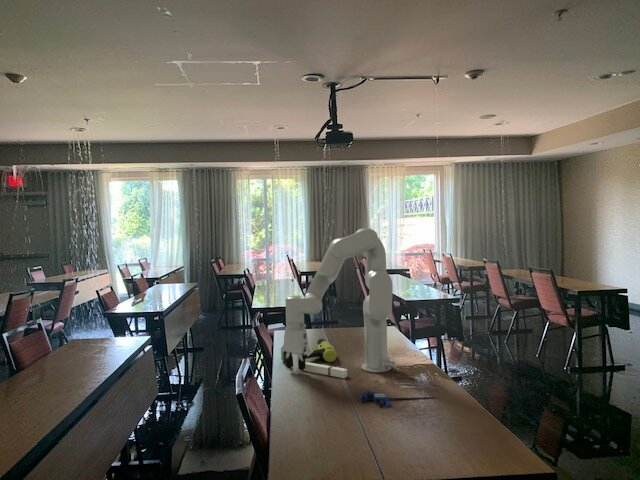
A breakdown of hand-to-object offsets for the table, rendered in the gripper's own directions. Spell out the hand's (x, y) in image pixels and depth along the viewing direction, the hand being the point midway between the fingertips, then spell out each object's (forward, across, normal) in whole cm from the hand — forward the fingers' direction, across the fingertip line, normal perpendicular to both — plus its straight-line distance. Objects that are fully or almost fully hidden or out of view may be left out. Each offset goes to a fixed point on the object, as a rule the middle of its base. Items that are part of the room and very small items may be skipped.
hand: (296, 368), depth 185 cm
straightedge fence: (+2, -8, -5) cm, 9 cm away
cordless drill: (+2, +8, -20) cm, 22 cm away
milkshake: (+2, 0, 0) cm, 2 cm away
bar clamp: (+3, -51, +6) cm, 51 cm away
